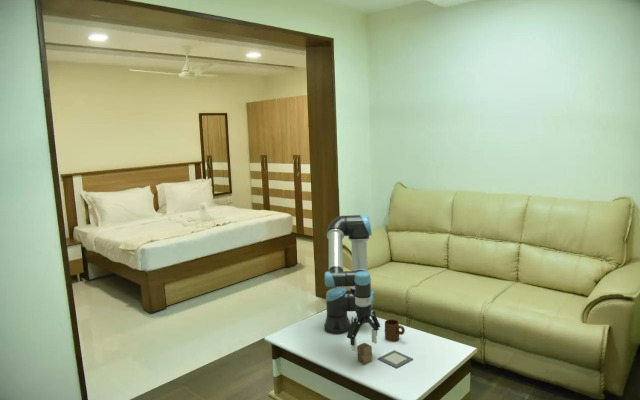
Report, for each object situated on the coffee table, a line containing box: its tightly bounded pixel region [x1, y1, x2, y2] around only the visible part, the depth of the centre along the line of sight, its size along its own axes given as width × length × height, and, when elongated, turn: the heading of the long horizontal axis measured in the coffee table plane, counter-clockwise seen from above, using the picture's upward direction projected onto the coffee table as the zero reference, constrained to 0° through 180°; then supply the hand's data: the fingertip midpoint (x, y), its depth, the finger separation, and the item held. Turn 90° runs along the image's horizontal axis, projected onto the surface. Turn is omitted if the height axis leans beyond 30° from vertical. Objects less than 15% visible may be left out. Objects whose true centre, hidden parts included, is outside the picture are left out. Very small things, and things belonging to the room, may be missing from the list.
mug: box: [384, 318, 406, 342], centre depth 235 cm, size 12×8×9 cm, turn 43°
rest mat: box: [377, 349, 414, 369], centre depth 215 cm, size 12×12×1 cm
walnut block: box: [356, 342, 373, 366], centre depth 214 cm, size 5×5×8 cm
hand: (364, 346), depth 213 cm, fingers open, 13 cm apart
